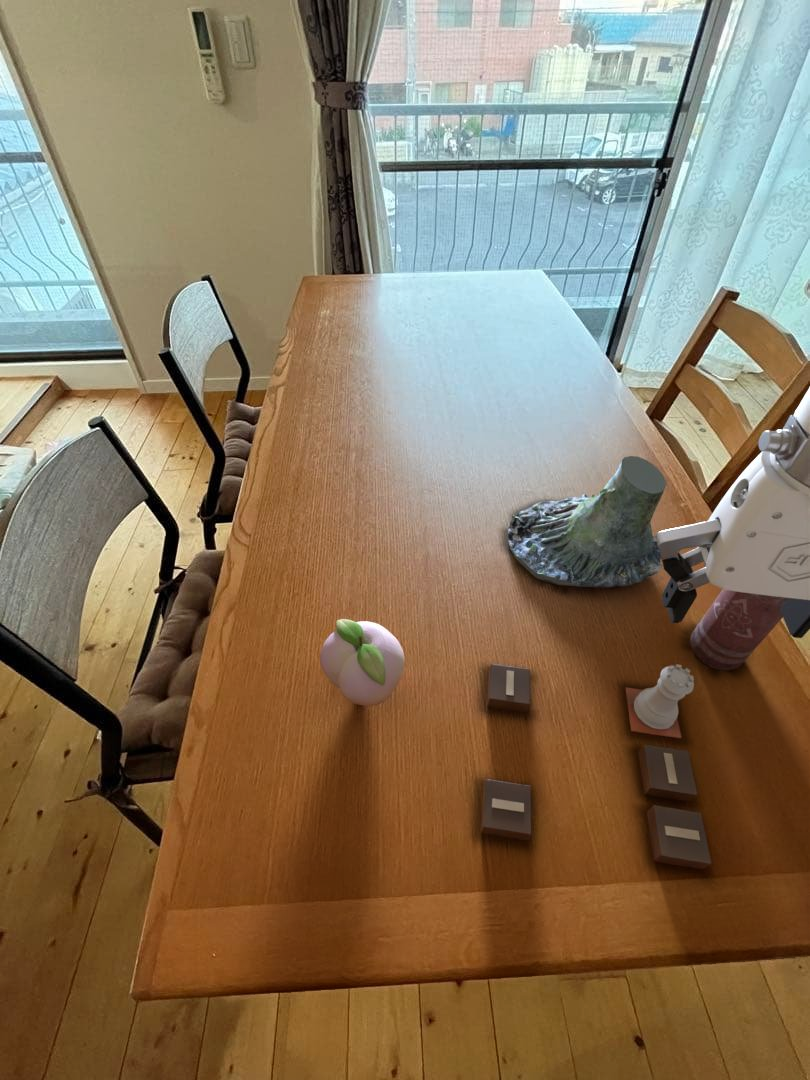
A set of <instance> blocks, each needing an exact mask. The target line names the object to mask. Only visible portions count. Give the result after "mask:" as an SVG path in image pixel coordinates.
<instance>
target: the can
mask: <svg viewBox="0 0 810 1080" xmlns="http://www.w3.org/2000/svg"><path fill="white" fill-rule="evenodd" d="M717 595H718V596H717V597H716V598H715V599H714V601H713V602H712V604H711V605H710V606H709V608H708V609H707V611H706V612H705V613H704V615H703V616H702V618H701V620H700V621H699V623H698V624H697V625H696V626H695V628H694V630H693V631H692V632H691V635H690V637H689V641H690V642H689V644H690V647H691V649H692V652H693V654H694V655H695V656H696V658H697V659H698V660H699V661H700V662H701V663H703V664H704V665H706V666H708V667H710V668H711V669H716V670H717V671H718V670H719V671H732V670H735V669H738V668H739V667H741V666H742V664H743V663H744V662H745V661H746V660H747V659H748V658H749V657H750V656H751V654H753V652H754V651H755V650H756V649H757V647H758V646H759V645H760V644H761V643H762V642H763V641H764V640H765V638H766V637H767V636H768V635H769V634H770V633H771V632H772V631H773V629H775V627H776V626H777V625H778V624H779V623H780V622H781V620H782V619H784V618H783V616H782V614H781V611H780V609H781V606H782V605H783V604H784V603H785V602H786V600H787V599H788V598H785V597H777V596H768V595H760V594H752V593H744V592H737V591H730V590H725V589H722V590H721V591H720V593H719V594H717Z"/></svg>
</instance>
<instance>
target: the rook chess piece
mask: <svg viewBox="0 0 810 1080" xmlns="http://www.w3.org/2000/svg"><path fill="white" fill-rule="evenodd" d="M690 673H691V670H690V669H689V668H688V667H685V669H684V668H682V664H678V663H677V664H675V665H673V664H671V665H668V666H665V667H664V668H662V669H661V672H660V674H659V675H660V676H659V678H658V680H657V681H656V683H657V684H656V685H655V686H653V687H647V688H644V689H642V690H643V691H642V692H640V693H639V695H638V696H636V699H635V701H634V710H635V712H636V714H637V716H638V717H639V718H640V719H641V720H642V721H643V723H645V724H646V725H648V726H650V727H652V728H656V729H667V728H669V727H670V726H672V725H673V724H674V721H675V720H676V718H677V719H678V715H679V705H678V703H679V701H680V700H682V699H683V698H685V697H686V695H689V694H691V693H692V692H693V691H694V688H695V683H694V681H695V679H694V678H695V677H694V675H691V674H690Z"/></svg>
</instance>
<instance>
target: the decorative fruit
mask: <svg viewBox="0 0 810 1080" xmlns="http://www.w3.org/2000/svg"><path fill="white" fill-rule="evenodd" d="M405 663H406V662H405V654H404V651H403V648H402V645H401V643H400V641H398V639H397V638H396V637H395V636H394V634H393V633H391V631H389V630H388V629H386V628H385V627H384V626H382V625H381V624H379V623H377V622H373V621H372V622H371V621H366V620H365V621H364V620H360V621H354V620H352V619H347V618H340V619H337V620H336V622H335V630H334V631H333V632H332V633H331V634H330V635H329V636H328V637H327V638H326V640H325V641H324V643H323V644H322V647H321V649H320V653H319V665H320V667H321V670H322V672H323V674H324V675H325V677H326V678H327V679H328V680H329V682H330V683H331V684H332V685H333V686H334V687H336V688H338V689H339V690H340V692H341V694H342V695H343V697H344V698H345V699H347V700H348V701H350V702H352V703H353V704H356V705H359V706H364V707H371V706H376V705H380V704H381V703H384V702H385V701H386V700H388V699H389V698H390V697H391V695H392V694H393V693H394V692H395V690H396V688H397V687H398V685H399V683H400V681H401V679H402V676H403V673H404V670H405Z"/></svg>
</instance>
